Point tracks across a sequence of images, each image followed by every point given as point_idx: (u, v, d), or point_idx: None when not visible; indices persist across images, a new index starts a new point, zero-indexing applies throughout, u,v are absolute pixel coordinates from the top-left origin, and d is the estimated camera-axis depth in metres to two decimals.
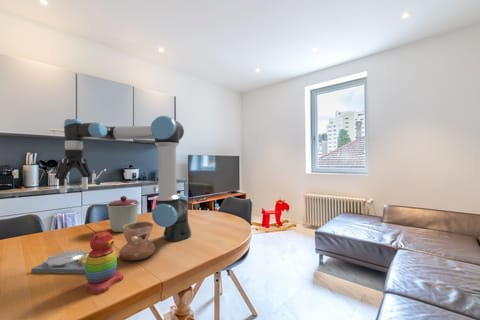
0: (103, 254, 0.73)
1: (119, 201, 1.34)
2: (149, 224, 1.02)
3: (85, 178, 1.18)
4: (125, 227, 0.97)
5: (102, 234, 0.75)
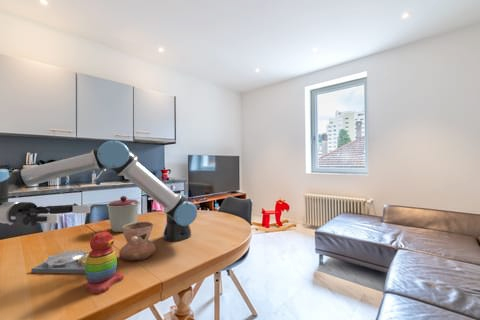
0: (103, 254, 0.73)
1: (119, 201, 1.34)
2: (149, 224, 1.02)
3: (74, 207, 0.83)
4: (125, 227, 0.97)
5: (102, 234, 0.75)
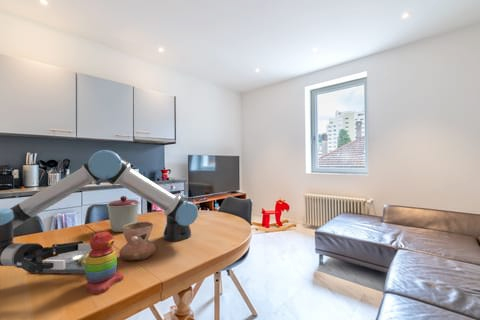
0: (103, 254, 0.73)
1: (119, 201, 1.34)
2: (149, 224, 1.02)
3: (79, 245, 0.82)
4: (125, 227, 0.97)
5: (102, 234, 0.75)
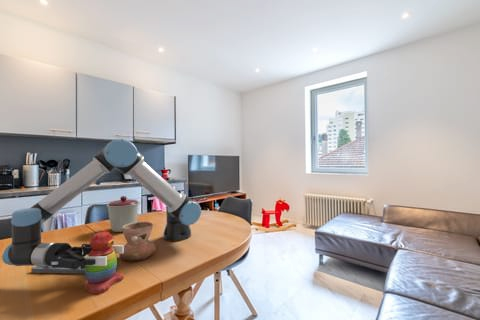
0: (103, 254, 0.73)
1: (119, 201, 1.34)
2: (149, 224, 1.02)
3: None
4: (125, 227, 0.97)
5: (102, 234, 0.75)
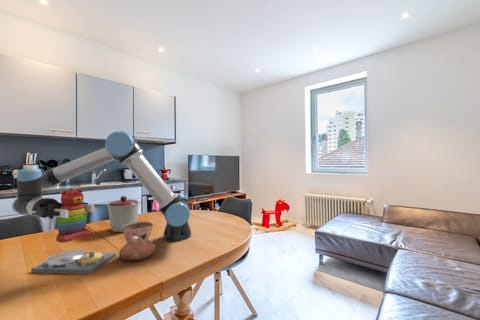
0: (69, 208, 0.80)
1: (119, 201, 1.34)
2: (149, 224, 1.02)
3: None
4: (125, 227, 0.97)
5: (71, 191, 0.82)
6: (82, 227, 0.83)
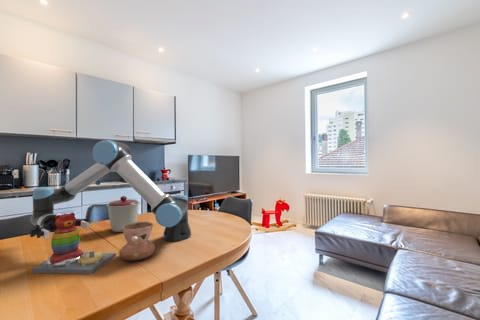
0: (60, 232, 0.88)
1: (119, 201, 1.34)
2: (149, 224, 1.02)
3: (81, 222, 0.98)
4: (125, 227, 0.97)
5: (63, 215, 0.90)
6: (73, 248, 0.90)
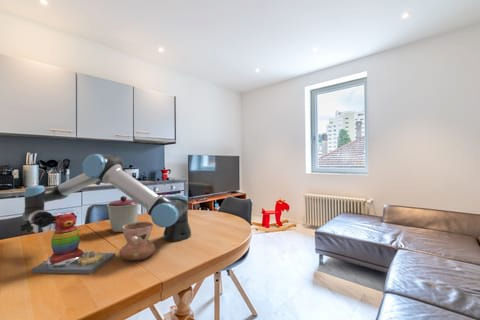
0: (60, 232, 0.88)
1: (119, 201, 1.34)
2: (149, 224, 1.02)
3: None
4: (125, 227, 0.97)
5: (63, 215, 0.90)
6: (73, 248, 0.90)
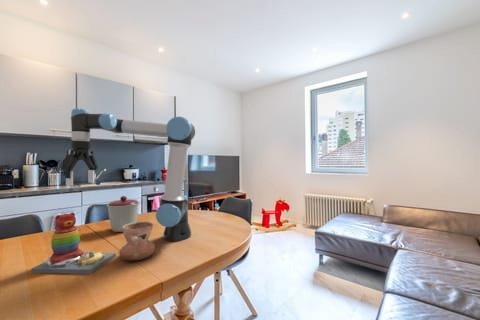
0: (60, 232, 0.88)
1: (119, 201, 1.34)
2: (149, 224, 1.02)
3: (92, 171, 1.14)
4: (125, 227, 0.97)
5: (63, 215, 0.90)
6: (73, 248, 0.90)
